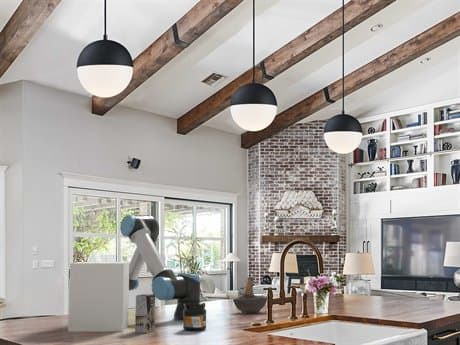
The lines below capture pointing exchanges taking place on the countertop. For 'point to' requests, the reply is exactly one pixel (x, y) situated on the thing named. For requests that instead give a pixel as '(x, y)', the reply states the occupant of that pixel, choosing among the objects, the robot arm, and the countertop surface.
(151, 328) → the coffee box
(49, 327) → the countertop surface
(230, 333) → the countertop surface
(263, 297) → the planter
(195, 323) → the supplement container
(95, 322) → the shelf unit
